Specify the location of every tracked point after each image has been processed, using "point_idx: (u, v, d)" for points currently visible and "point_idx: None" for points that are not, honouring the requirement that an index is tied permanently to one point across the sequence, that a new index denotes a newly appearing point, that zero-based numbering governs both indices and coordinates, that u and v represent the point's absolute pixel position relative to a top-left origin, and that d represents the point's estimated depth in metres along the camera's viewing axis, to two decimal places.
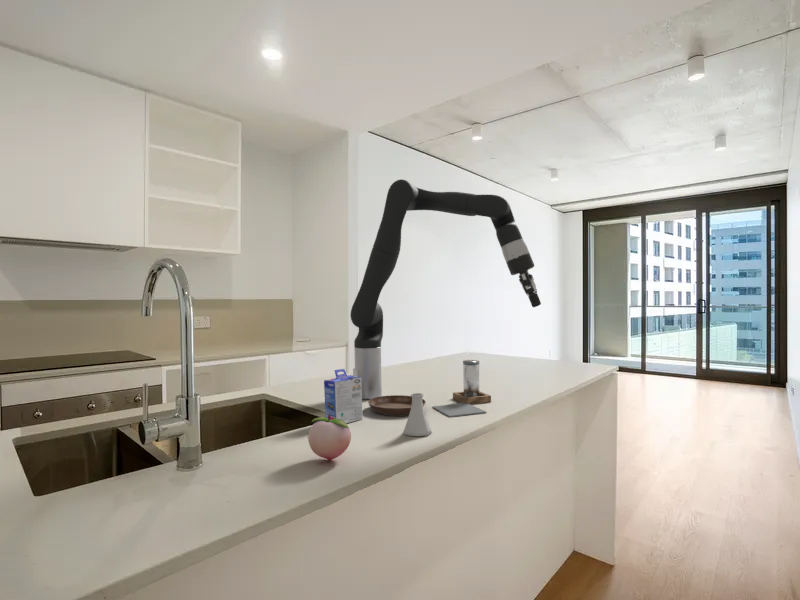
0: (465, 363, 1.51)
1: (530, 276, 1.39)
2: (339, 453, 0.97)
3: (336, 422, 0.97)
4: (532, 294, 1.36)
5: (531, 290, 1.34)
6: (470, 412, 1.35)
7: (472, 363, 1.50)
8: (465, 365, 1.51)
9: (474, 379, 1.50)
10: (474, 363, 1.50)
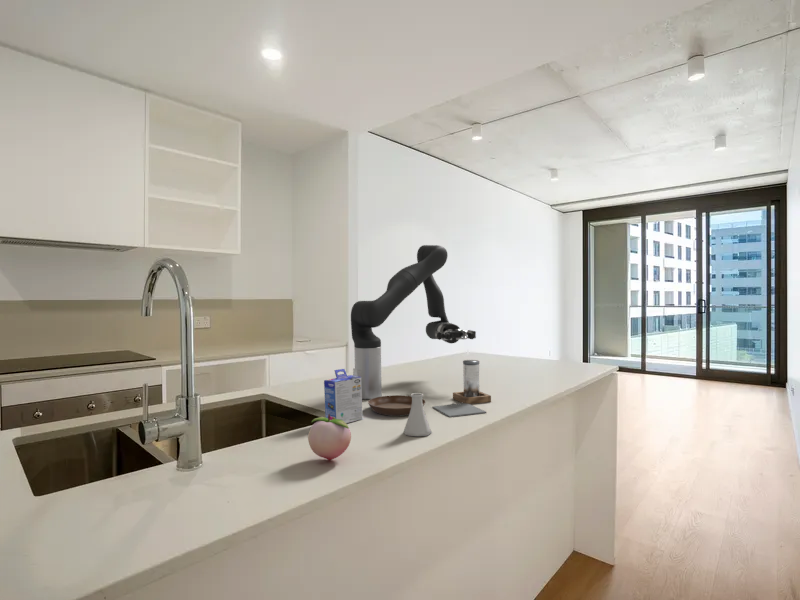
0: (465, 363, 1.51)
1: None
2: (339, 453, 0.97)
3: (336, 422, 0.97)
4: None
5: (475, 336, 1.69)
6: (470, 412, 1.35)
7: (472, 363, 1.50)
8: (465, 365, 1.51)
9: (474, 379, 1.50)
10: (474, 363, 1.50)
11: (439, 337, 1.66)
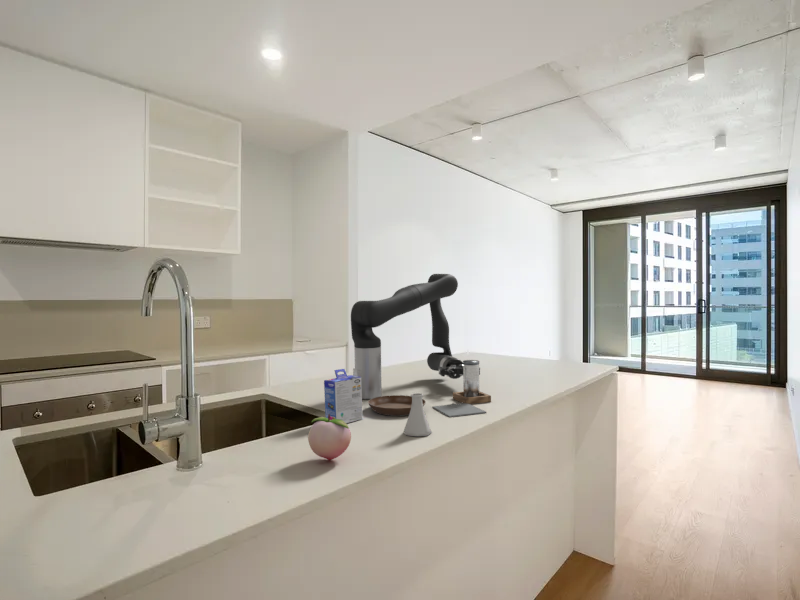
0: (465, 363, 1.51)
1: None
2: (339, 453, 0.97)
3: (336, 422, 0.97)
4: None
5: (479, 372, 1.65)
6: (470, 412, 1.35)
7: (472, 363, 1.50)
8: (465, 365, 1.51)
9: (474, 379, 1.50)
10: (474, 363, 1.50)
11: (443, 374, 1.62)
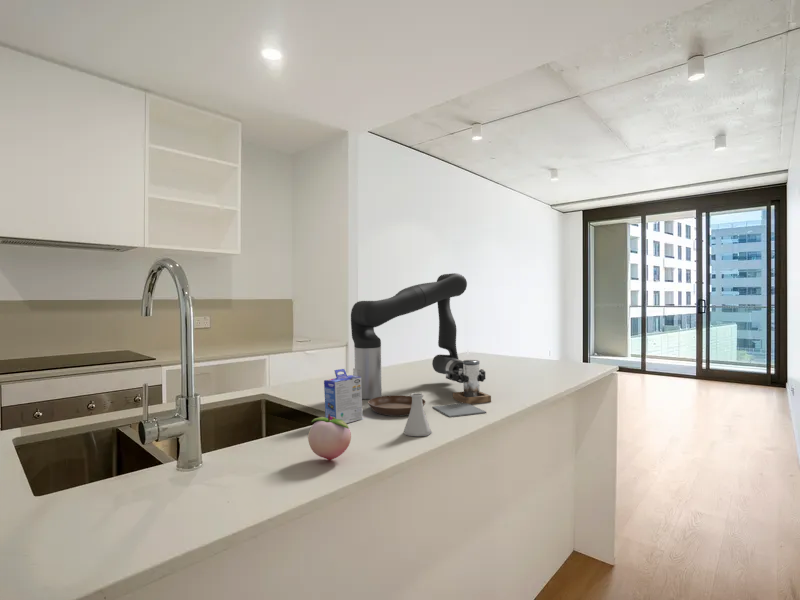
0: (465, 363, 1.51)
1: None
2: (339, 453, 0.97)
3: (336, 422, 0.97)
4: None
5: None
6: (470, 412, 1.35)
7: (472, 363, 1.49)
8: (465, 365, 1.51)
9: (474, 379, 1.50)
10: (474, 363, 1.50)
11: (454, 378, 1.53)
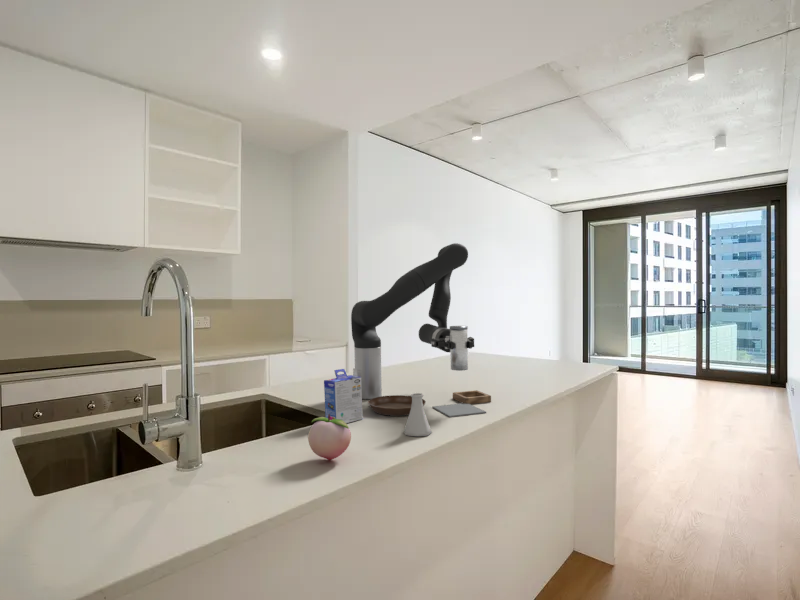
0: (452, 328, 1.38)
1: None
2: (339, 453, 0.97)
3: (336, 422, 0.97)
4: None
5: (473, 344, 1.43)
6: (470, 412, 1.35)
7: (459, 328, 1.37)
8: (452, 331, 1.38)
9: (462, 345, 1.37)
10: (462, 328, 1.37)
11: (440, 346, 1.41)
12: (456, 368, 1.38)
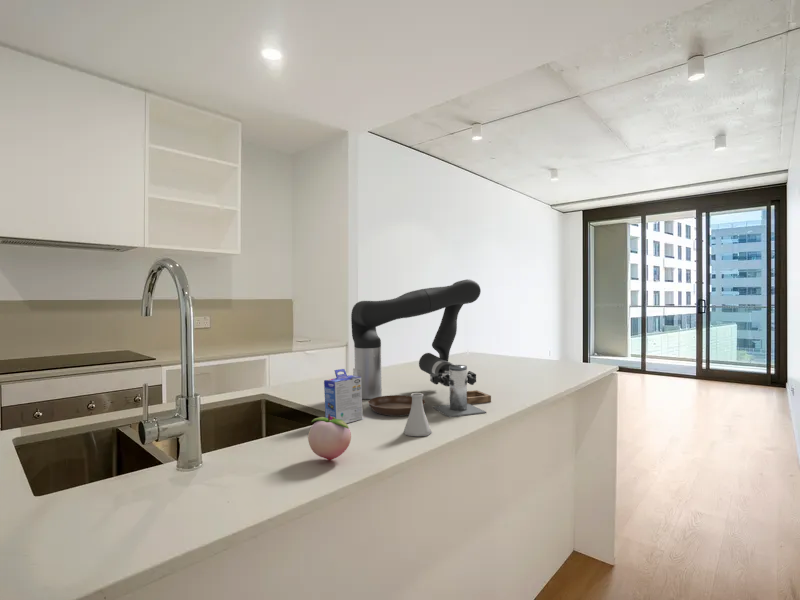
0: (451, 368, 1.38)
1: None
2: (339, 453, 0.97)
3: (336, 422, 0.97)
4: None
5: (475, 379, 1.43)
6: (470, 412, 1.35)
7: (459, 368, 1.37)
8: (451, 371, 1.38)
9: (461, 385, 1.37)
10: (461, 368, 1.37)
11: (436, 381, 1.41)
12: (455, 408, 1.37)
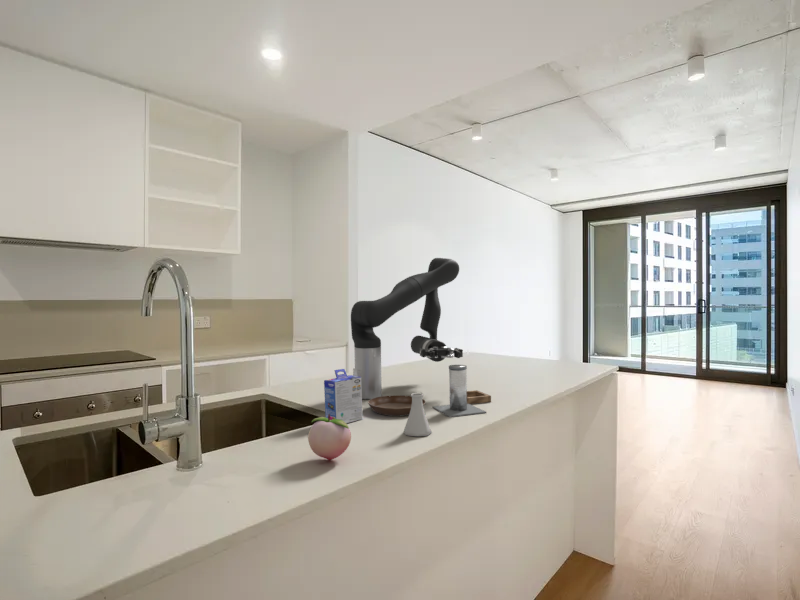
0: (451, 368, 1.38)
1: None
2: (339, 453, 0.97)
3: (336, 422, 0.97)
4: None
5: (462, 354, 1.57)
6: (470, 412, 1.35)
7: (458, 368, 1.37)
8: (451, 370, 1.38)
9: (461, 385, 1.37)
10: (461, 368, 1.37)
11: (423, 355, 1.55)
12: (455, 408, 1.37)
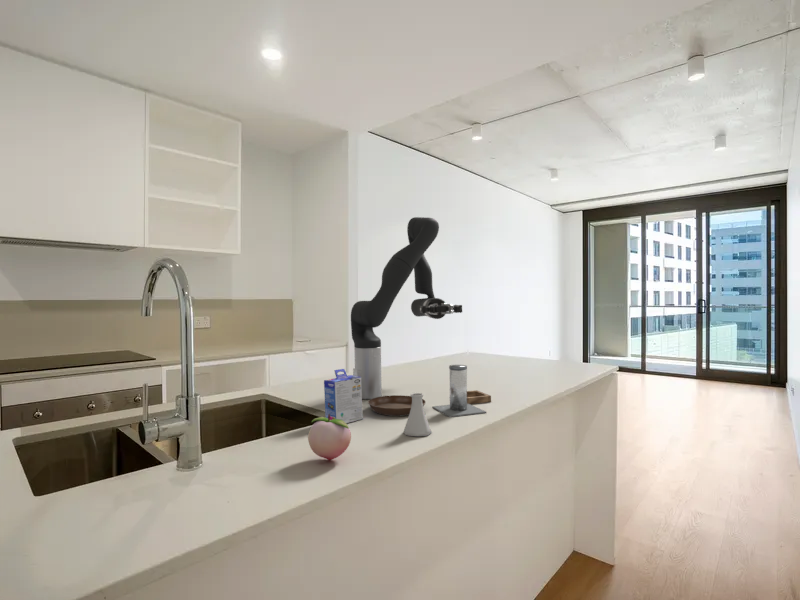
0: (451, 368, 1.38)
1: None
2: (339, 453, 0.97)
3: (336, 422, 0.97)
4: None
5: (461, 310, 1.61)
6: (470, 412, 1.35)
7: (459, 368, 1.37)
8: (451, 370, 1.38)
9: (461, 385, 1.37)
10: (461, 368, 1.37)
11: (424, 311, 1.58)
12: (455, 408, 1.37)
